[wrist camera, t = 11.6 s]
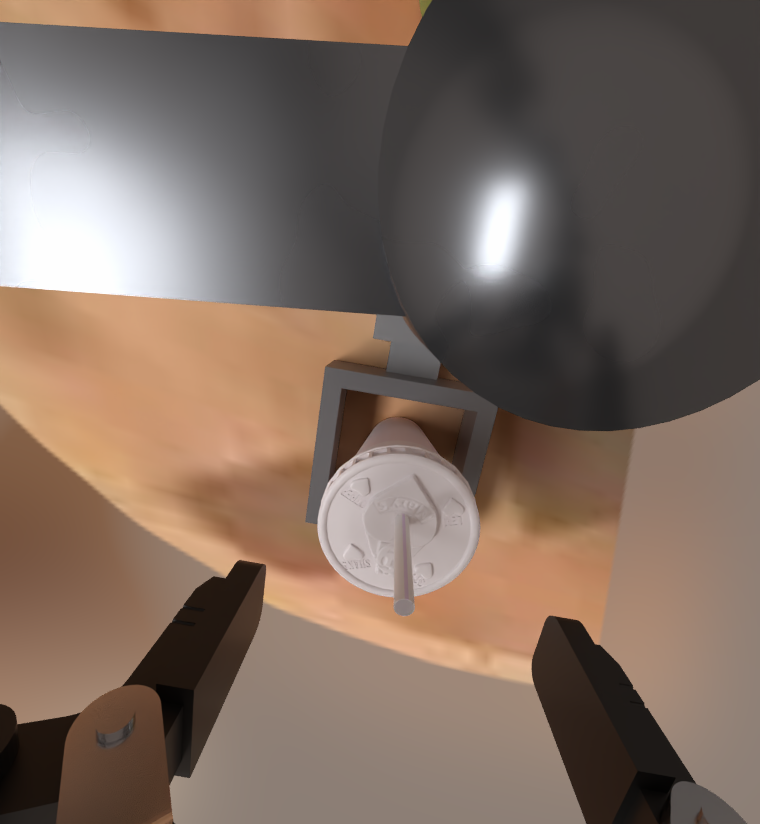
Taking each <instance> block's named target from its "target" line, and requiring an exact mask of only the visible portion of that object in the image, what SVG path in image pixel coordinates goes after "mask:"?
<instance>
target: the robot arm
mask: <svg viewBox="0 0 760 824" xmlns="http://www.w3.org/2000/svg"><path fill="white" fill-rule="evenodd" d="M265 575H266V565H265V564H260V563H254V562H248V561H242V560H239V561H237V562H236V564H235V565H234V567H233V568H232V570H231V571H230V573H229V574H228V576H227V577H226V578H220V577H212V578H211V579H209V580H208V581H206V582H205V583H204V584H202V585H201V586H199V587H198V588H196V589H195V591H194V592H193V593H192V595H191V596H190V597H189V599H188V600H187V601H186V603H185V604H184V606H183V608H182V609H180V611H179V612H178V613H177V615H176V616H175V617H174V619H173V621H172V623H170V624H169V625H168V627H167V628H166V629H165V631H164V632H163V633H162V635H161V636H160V637H159V639H158V640H157V641H156V643H155V644H154V645H153V647H152V648H151V650H150V651H149V652H148V653H147V655H146V656H145V658H144V659H143V660H142V661H141V663H140V664H139V665H138V667H137V668H136V669H135V671H134V672H133V673H132V675H131V676H130V677H129V679H128V680H127V681H126V682H125V684H124V685H123V686H122V687H120V688H117V689H114V690H112V691H110V692H108V693H106V694H104V695H102V696H100V697H99V698H98V699H96V700H95V701H93V702H92V703H91V704H90V705H89V706H88V707H86V708H85V709H84V710H83V711H82V712H81V713H78V714H75V715H70V716H66V717H60V718H54V719H48V720H43V721H36V722H29V723H23V724H17V720H16V715H15V713H14V711H13V710H12V709H11V708H10V707H7V706H6V705H2V704H0V824H175V823H174V822H173V816H172V808H171V798H170V788H169V785H170V783H171V781H172V779H173V777H174V775H176V776H181V777H187V778H190V777H191V774H192V772H193V770H194V768H195V765H196V763H197V761H198V759H199V757H200V755H201V752H202V750H203V748H204V746H205V744H206V741H207V739H208V737H209V735H210V732H211V730H212V728H213V726H214V724H215V722H216V719H217V717H218V715H219V713H220V710H221V708H222V706H223V704H224V702H225V699H226V697H227V695H228V693H229V690H230V688H231V686H232V684H233V682H234V679H235V677H236V675H237V673H238V671H239V668H240V666H241V664H242V662H243V660H244V657H245V655H246V653H247V651H248V649H249V646H250V644H251V642H252V639H253V637H254V635H255V633H256V630H257V627H258V624H259V621H260V616H261V612H262V605H263V595H264V585H265ZM532 677H533V682H534V685H535V688H536V691H537V693H538V696H539V699H540V701H541V704H542V707H543V709H544V712H545V715H546V717H547V720H548V723H549V725H550V728H551V731H552V733H553V736H554V739H555V741H556V744H557V747H558V749H559V752H560V755H561V757H562V760H563V763H564V765H565V768H566V771H567V773H568V776H569V779H570V781H571V784H572V786H573V789H574V792H575V795H576V797H577V800H578V802H579V805H580V807H581V810H582V813H583V816H584V818H585V821H586V824H747V823H746V822H745V821H744V820H743V818H742V817H741V816H740V815H739V814H738V813H737V812H736V811H735V810H734V809H733V808H732V807H730V806H729V805H728V804H727V803H726V802H725V801H723V800H722V799H721V798H720V797H718V796H717V795H716V794H714V793H712V792H710V791H709V790H708V789H706V788H704V787H702V786H700V785H697V784H696V783H695V781H694V780H693V778H692V777H691V775H690V773H689V772H688V770H687V769H686V767H685V766H684V764H683V763H682V761H681V760H680V758H679V757H678V755H677V753H676V752H675V750H674V749H673V747H672V746H671V744H670V742H669V741H668V739H667V738H666V736H665V735H664V733H663V732H662V730H661V728H660V727H659V725H658V724H657V722H656V721H655V719H654V718H653V716H652V715H651V713H650V711H649V710H648V708H645V706H644V702H643V701H642V699H641V697H640V696H639V695H638V693H637V691H636V690H634V689H633V685H632V684H631V682H630V680H629V679H628V677H627V676H626V674H625V673H624V671H623V670H622V668H621V666H620V665H619V664H618V663H617V662H616V661H615V660H614V659H613V658H612V657H611V656H610V655H609V654H608V653H607V652H606V651H605V650H604V649H603V648H602V647H601V646H600V645H595V644H594V642H593V640H592V639H591V637H590V636H589V634H588V632H587V631H586V629H585V627H584V626H583V624H582V623H581V622H580V621H578V620H573V619H567V618H562V617H556V616H549V617H547V619H546V621H545V623H544V626H543V629H542V632H541V635H540V638H539V641H538V644H537V647H536V649H535V652H534V655H533V659H532Z"/></svg>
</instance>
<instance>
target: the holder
mask: <svg viewBox="0 0 760 824" xmlns="http://www.w3.org/2000/svg"><path fill="white" fill-rule="evenodd" d="M373 338H374V339H380V340H386V341H391V346H390V352H389V357H388V363H387V369H384V368H378V367H372V366H367V365H361V364H355V363H349V362H344V361H338V360H334V361H332V362H331V363H330V364H328V365H327V366H325V373H324V381H323V389H322V396H321V404H320V412H319V420H318V428H317V435H316V443H315V451H314V459H313V467H312V475H311V482H310V490H309V498H308V506H307V514H306V521H305V522H308V523H314V524H318V514H319V509H320V506H321V500H322V497H323V495H324V492H325V489H326V487H327V484H328V482H329V481H330V480H331V478H332V477H333V476H334V474H335V468H336V461H337V454H338V447H339V440H340V433H341V427H342V420H343V413H344V406H345V399H346V392H347V389H349V390H355V391H360V392H366V393H372V394H378V395H384V396H389V397H395V398H401V399H407V400H412V401H418V402H424V403H430V404H436V405H441V406H447V407H453V408H459V409H464V414H463V418H462V423H461V427H460V431H459V435H458V439H457V444H456V448H455V452H454V456H453V461H452V465H454V466H455V467H456V468H457V469H458V470H459V472H460V473H461V474H462V475H463V477H464V478H465V479H466V480H467V482H468V483H469V486H470V488H471V491H472V493H473V495H474V497H475V494H476V490H477V486H478V482H479V478H480V474H481V471H482V467H483V463H484V459H485V455H486V452H487V448H488V444H489V440H490V436H491V432H492V429H493V425H494V421H495V417H496V413H497V410H498V407H497V406H496V405H494V404H492V403H491V402H489V401H487V400H486V399H484V398H482V397H481V396H479V395H477V394H476V393H474V392H473V391H472V390H470V389H469V388H468V387H467V386H466V385H464V384H463V383H462V382H459V381H453V380H448V379H442V378H438V373H439V368H440V363H441V362H440V361H439V360H438V359H437V358H436V357H435V356H434V355H433V354H432V353H431V352H430V351H429V350H428V349H427V348H426V347H425V346H424V345H423V344H422V343H421V342H420V341H419V339H418V338H417V337H416V336H415V335H414V334H413V332H412V331H411V330H410V328H409V327H408V326H407V324H406V323H405V321H404V319H403V317H402V316H391V315H378V314H377V317H376V323H375V329H374V335H373Z"/></svg>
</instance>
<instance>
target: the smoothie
mask: <svg viewBox="0 0 760 824" xmlns="http://www.w3.org/2000/svg"><path fill="white" fill-rule="evenodd" d="M318 535H319V540H320V544H321V547H322V549H323V552H324V554H325V556H326V558H327V559H328V561H329V562H330V564H331V565H332V566H333V568H334V569H335V570H336V571H337V572H338V573H339V574H340V575H341V576H342V577H343V578H345V579H346V580H347V581H349V582H350V583H351V584H353V585H355V586H356V587H358V588H360V589H362V590H365V591H367V592H370V593H373V594H377V595H381V596H386V597H394V610H395V612H396V613H397V614H398V615H401V616H408V615H410V614H412V613H413V612H414V609H415V605H414V596H419V595H424V594H427V593H430V592H433V591H435V590H437V589H439V588H441V587H443V586H445V585H446V584H448V583H450V582H451V581H452V580H454V579H455V578H456V577H457V576H458V575H459V574H460V573H461V572H462V571H463V570H464V569H465V568H466V566H467V565H468V564H469V562H470V561H471V559H472V557H473V555H474V553H475V550H476V548H477V545H478V541H479V536H480V518H479V512H478V509H477V505H476V500H475V498H474V495H473V493H472V491H471V488H470V486H469V483H468V482H467V480H466V479H465V478H464V477H463V475H462V474H461V473H460V472H459V470H458V469H457V468H456V467H455V466H454V465H452V464H451V463H450V462H448V461H447V460H445V459H444V458H443V457H441V456H440V455H439V454H438V452H437V451H436V449H435V448H434V447H433V445H432V444H431V442H430V441H429V440H428V438H427V437H426V435H425V434H424V433H423V431H422V430H421V428H420V427H419V426H418V425H417V424H416V423H414V422H413V421H411V420H409V419H406V418H402V417H392V418H388V419H385V420H383V421H381V422H380V423H379V424H377V425H376V426H375V428H374V429H373V430H372V432H371V433H370V435H369V436H368V438H367V439H366V441H365V442H364V444H363V445H362V447H361V448H360V450H359V451H358V452H357V454H356V455H355V456H354V457H353V458H351V459H350V460H349V461H347V462H346V463H345V464H344V465H342V466H341V467H340V468H339V469H338V470H337V472H336V473H335V474H334V476H333V477H332V478H331V480H330V481H329V482H328V484H327V487H326V489H325V492H324V495H323V497H322V500H321V506H320V509H319V514H318Z"/></svg>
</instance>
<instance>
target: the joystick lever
mask: <svg viewBox="0 0 760 824" xmlns="http://www.w3.org/2000/svg"><path fill="white" fill-rule="evenodd" d="M0 286H8V287H21V288H34V289H47V290H61V291H74V292H87V293H100V294H114V295H127V296H140V297H153V298H166V299H180V300H193V301H206V302H219V303H233V304H246V305H259V306H272V307H285V308H299V309H312V310H325V311H338V312H352V313H365V314H378V315H391V316H402V317H403V319H404V321H405V323H406V324H407V326H408V327H409V328H410V330H411V331H412V332H413V334H414V335H415V336H416V337H417V338H418V339H419V341H420V342H421V343H422V344H423V345H424V346H425V347H426V348H427V349H428V350H429V351H430V352H431V353H432V354H433V355H434V356H435V357H436V358H437V359H438V360H439V361H440V362H441V363H442V365H443V366H444V367H445V368H446V369H447V370H448V371H449V372H450V373H451V374H452V375H453V376H454V377H456V378H457V379H458V380H459V381H461V382H462V383H463V384H464V385H466V386H467V387H468V388H469V389H470V390H472V391H473V392H474V393H476V394H477V395H479V396H481V397H482V398H484V399H486V400H487V401H489V402H491V403H492V404H494V405H496V406H497V407H499V408H501V409H503V410H506V411H508V412H510V413H513V414H515V415H517V416H520V417H522V418H524V419H528V420H531V421H535V422H538V423H542V424H545V425H549V426H553V427H560V428H567V429H574V430H584V431H614V430H624V429H634V428H641V427H646V426H651V425H655V424H660V423H664V422H669V421H672V420H675V419H678V418H681V417H684V416H687V415H690V414H693V413H695V412H698V411H701V410H703V409H706V408H708V407H710V406H712V405H714V404H716V403H718V402H721V401H723V400H725V399H727V398H729V397H731V396H733V395H735V394H736V393H738V392H740V391H741V390H743V389H745V388H746V387H748V386H749V385H751V384H753V383H755V382H756V381H758V380H760V0H432V1H431V3H430V4H429V6H428V8H427V9H426V11H425V13H424V15H423V17H422V19H421V21H420V23H419V25H418V27H417V29H416V31H415V33H414V35H413V37H412V39H411V42H410V44H409V46H397V45H380V44H363V43H346V42H329V41H312V40H296V39H279V38H262V37H245V36H228V35H211V34H194V33H177V32H160V31H143V30H127V29H110V28H93V27H76V26H59V25H42V24H25V23H8V22H0Z"/></svg>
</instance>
